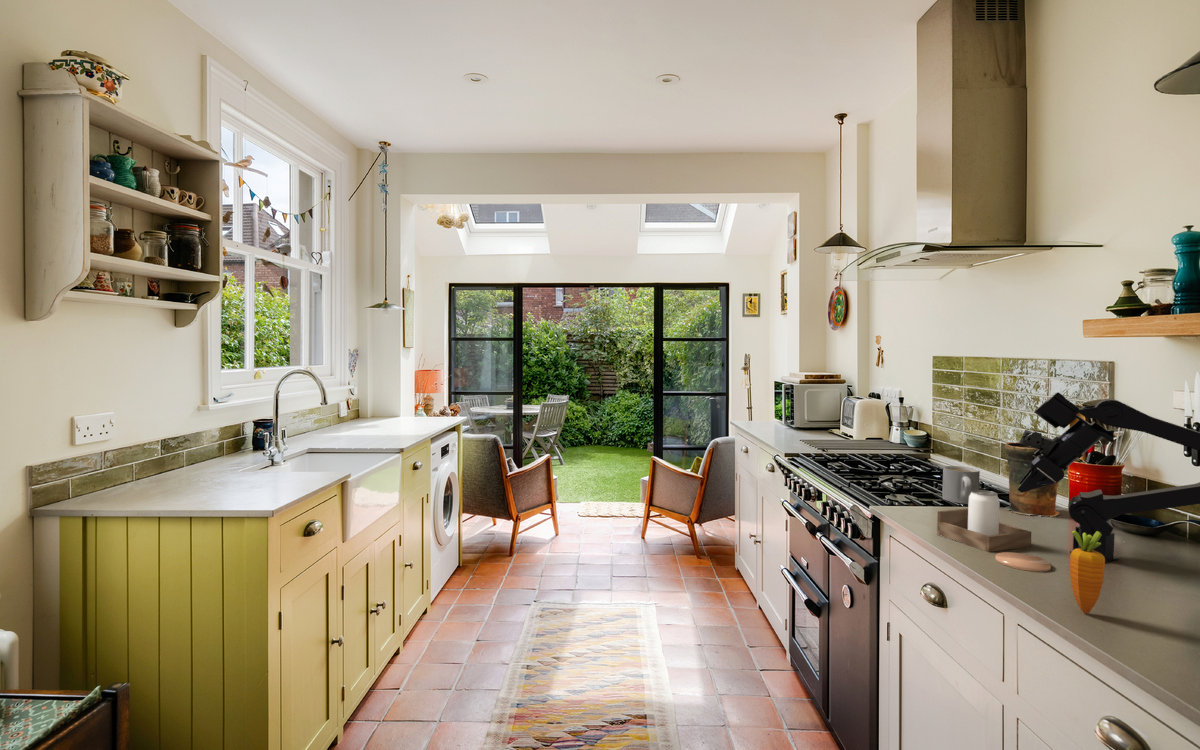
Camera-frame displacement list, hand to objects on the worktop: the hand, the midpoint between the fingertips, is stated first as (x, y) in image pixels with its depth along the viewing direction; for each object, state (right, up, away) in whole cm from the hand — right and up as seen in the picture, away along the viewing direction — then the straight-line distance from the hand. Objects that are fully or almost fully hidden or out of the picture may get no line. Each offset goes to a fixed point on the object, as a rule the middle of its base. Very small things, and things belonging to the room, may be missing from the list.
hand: (1020, 487), depth 144 cm
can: (-7, -14, +4) cm, 16 cm away
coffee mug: (+12, -13, +44) cm, 47 cm away
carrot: (-15, -15, -38) cm, 44 cm away
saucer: (-8, -14, -13) cm, 21 cm away
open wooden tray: (-7, -14, +4) cm, 16 cm away
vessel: (+26, -13, +32) cm, 43 cm away
